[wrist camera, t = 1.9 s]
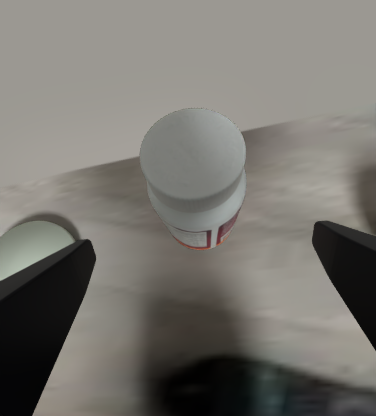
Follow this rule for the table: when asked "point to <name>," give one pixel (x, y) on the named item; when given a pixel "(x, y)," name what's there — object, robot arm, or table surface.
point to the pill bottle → (195, 175)
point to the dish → (30, 245)
